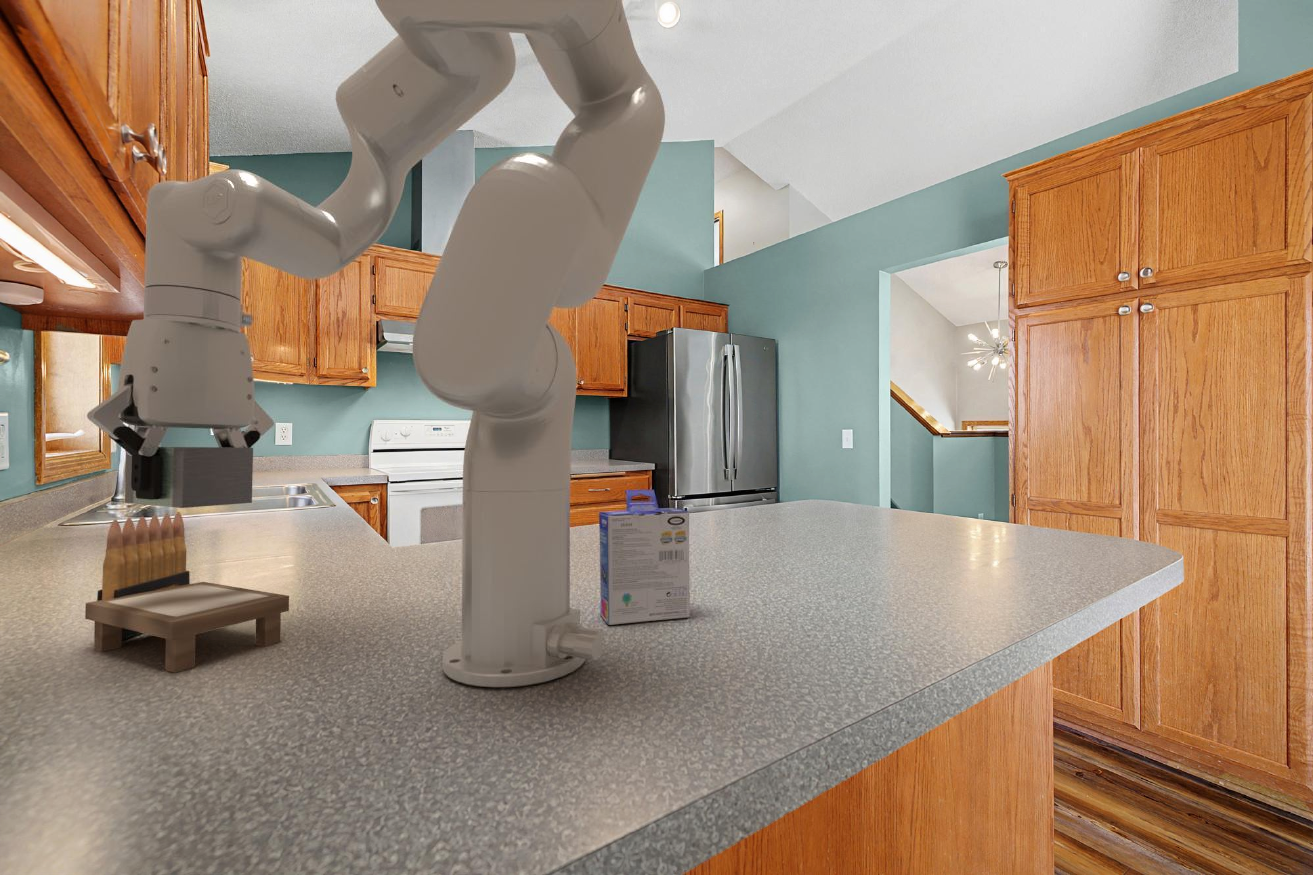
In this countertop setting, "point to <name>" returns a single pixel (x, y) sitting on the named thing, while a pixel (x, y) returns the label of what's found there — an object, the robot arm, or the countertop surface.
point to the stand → (186, 617)
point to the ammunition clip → (144, 559)
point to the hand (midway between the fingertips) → (189, 494)
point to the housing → (199, 477)
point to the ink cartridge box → (644, 562)
